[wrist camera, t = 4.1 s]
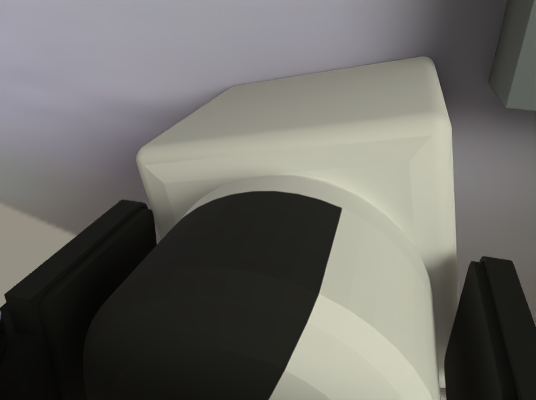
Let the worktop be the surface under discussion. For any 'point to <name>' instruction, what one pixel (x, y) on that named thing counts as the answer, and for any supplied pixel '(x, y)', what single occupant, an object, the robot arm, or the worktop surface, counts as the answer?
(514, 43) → the tray
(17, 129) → the worktop surface
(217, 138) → the medicine bottle
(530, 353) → the robot arm
